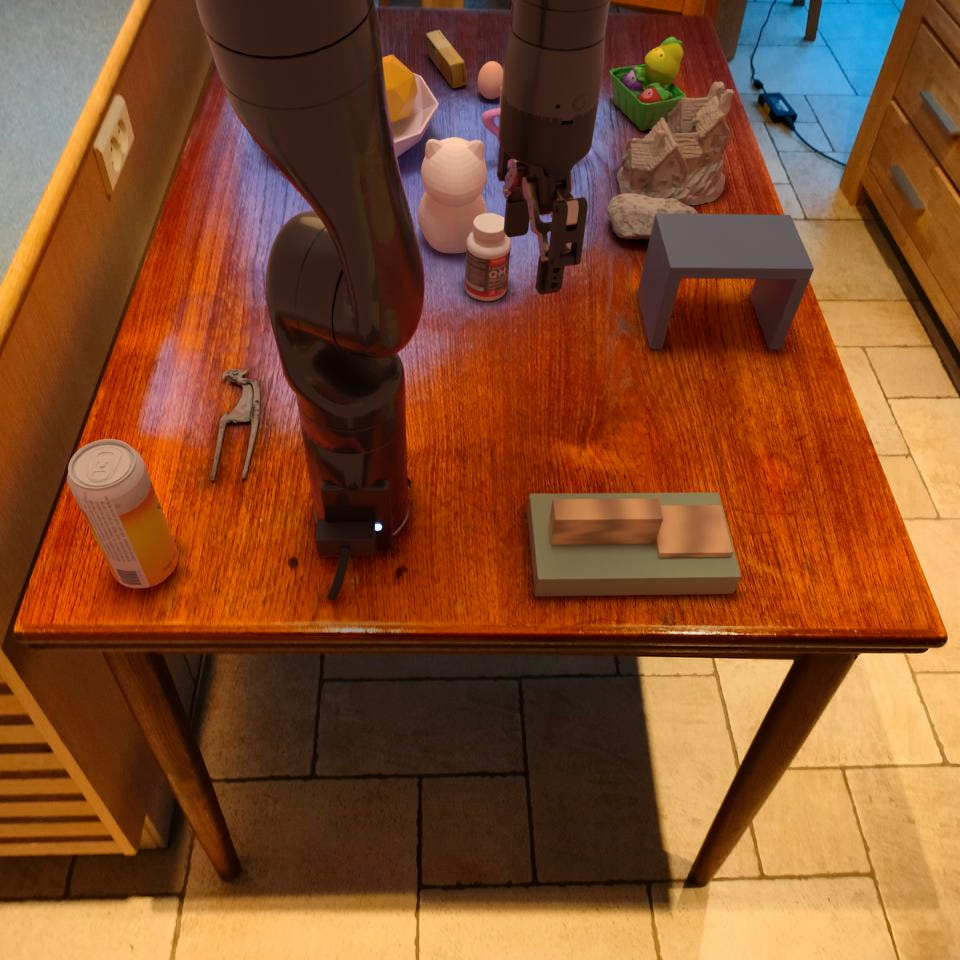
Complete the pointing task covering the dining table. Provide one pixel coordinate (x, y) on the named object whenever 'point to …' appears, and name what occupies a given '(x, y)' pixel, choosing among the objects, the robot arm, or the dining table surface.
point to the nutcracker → (240, 414)
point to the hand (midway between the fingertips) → (531, 262)
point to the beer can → (123, 512)
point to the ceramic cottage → (681, 152)
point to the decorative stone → (640, 213)
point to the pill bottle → (487, 258)
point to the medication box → (446, 58)
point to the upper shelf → (725, 266)
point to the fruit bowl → (407, 104)
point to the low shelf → (622, 557)
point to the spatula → (641, 526)
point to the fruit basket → (649, 85)
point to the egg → (490, 80)
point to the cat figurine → (451, 192)
